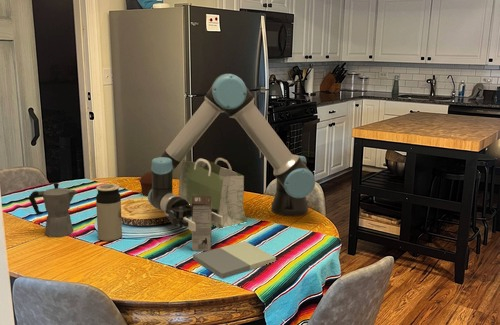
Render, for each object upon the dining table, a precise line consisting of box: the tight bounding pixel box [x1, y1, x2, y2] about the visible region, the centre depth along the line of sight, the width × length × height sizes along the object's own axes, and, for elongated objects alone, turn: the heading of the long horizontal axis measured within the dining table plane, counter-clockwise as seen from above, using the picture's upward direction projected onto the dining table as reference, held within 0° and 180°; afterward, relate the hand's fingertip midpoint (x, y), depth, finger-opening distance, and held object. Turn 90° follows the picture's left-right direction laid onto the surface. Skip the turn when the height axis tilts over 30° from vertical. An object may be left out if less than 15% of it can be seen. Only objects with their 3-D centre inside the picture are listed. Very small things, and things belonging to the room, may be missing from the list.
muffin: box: [138, 171, 152, 198], centre depth 216 cm, size 12×11×10 cm
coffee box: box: [191, 195, 212, 252], centre depth 158 cm, size 9×6×16 cm
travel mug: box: [95, 183, 123, 242], centre depth 163 cm, size 8×8×18 cm
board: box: [192, 240, 277, 279], centre depth 148 cm, size 20×16×2 cm
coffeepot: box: [28, 182, 78, 238], centre depth 166 cm, size 15×9×18 cm, turn 110°
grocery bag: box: [178, 157, 248, 229], centre depth 189 cm, size 32×14×23 cm, turn 38°
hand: (208, 224), depth 154 cm, fingers closed on coffee box, 10 cm apart
